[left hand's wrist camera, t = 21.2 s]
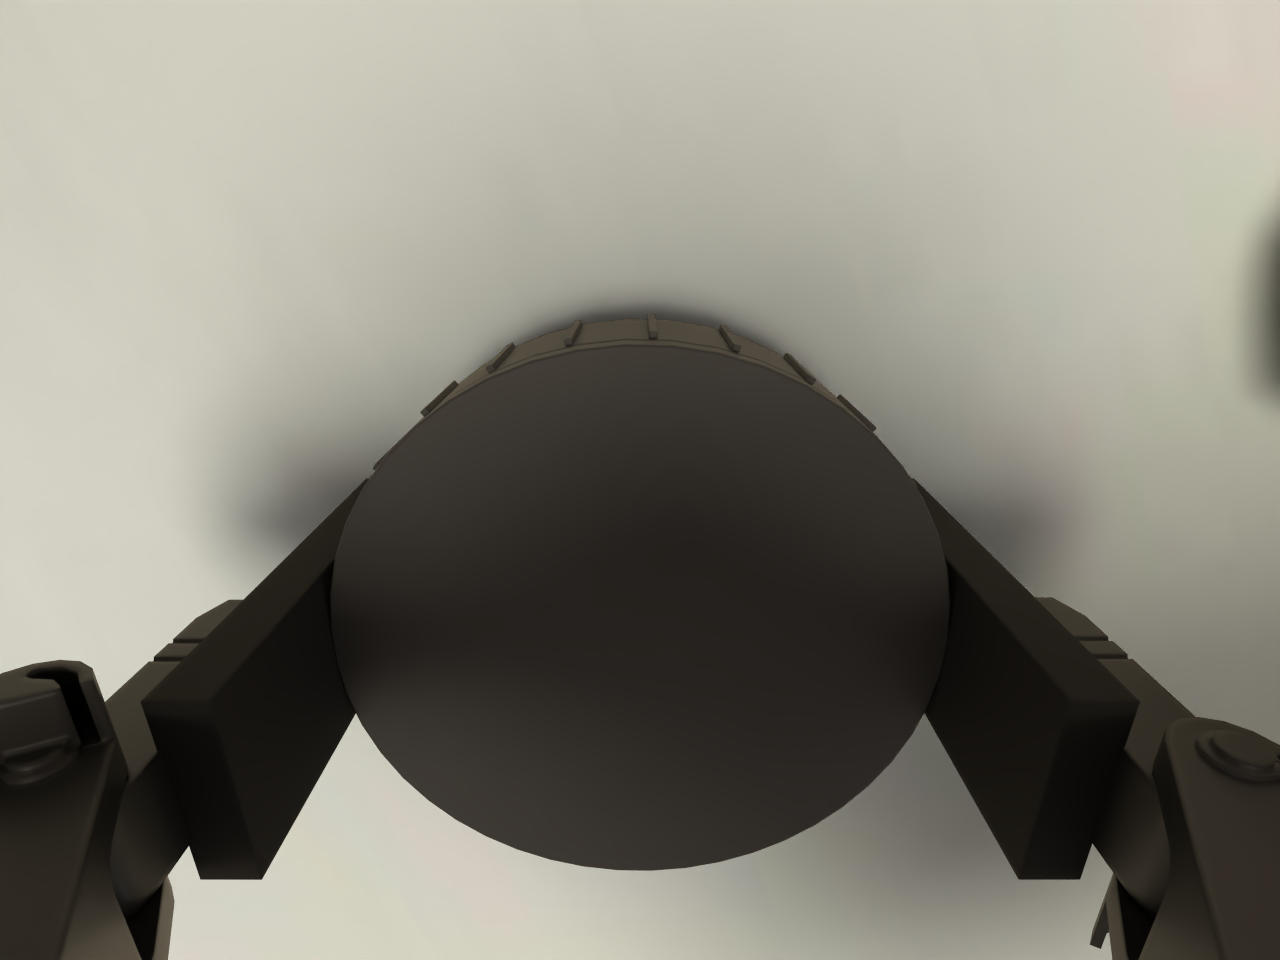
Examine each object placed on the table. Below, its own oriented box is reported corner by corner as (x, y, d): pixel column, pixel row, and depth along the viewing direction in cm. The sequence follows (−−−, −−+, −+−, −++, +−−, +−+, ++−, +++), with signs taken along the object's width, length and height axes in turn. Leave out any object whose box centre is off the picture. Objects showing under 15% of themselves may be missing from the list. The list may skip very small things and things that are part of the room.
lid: (265, 505, 12) (185, 569, 10) (740, 188, 10) (766, 184, 8) (572, 839, 15) (561, 942, 13) (982, 642, 13) (1049, 726, 11)
